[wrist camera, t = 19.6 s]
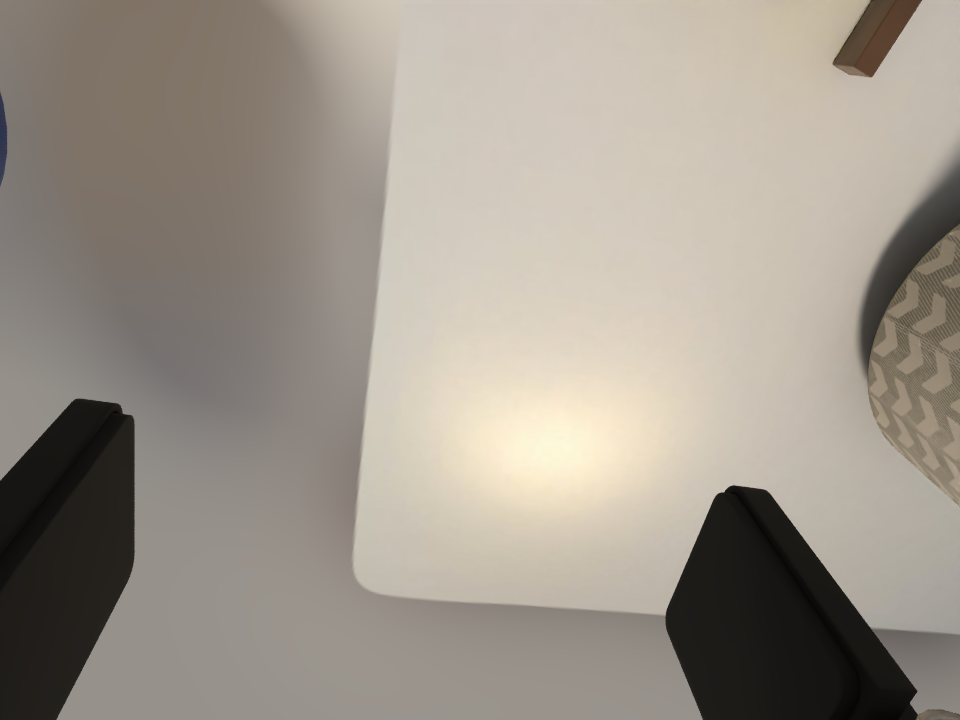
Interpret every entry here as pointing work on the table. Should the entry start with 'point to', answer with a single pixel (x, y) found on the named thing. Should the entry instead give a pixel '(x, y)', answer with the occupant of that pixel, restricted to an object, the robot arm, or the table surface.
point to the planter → (923, 367)
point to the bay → (875, 36)
